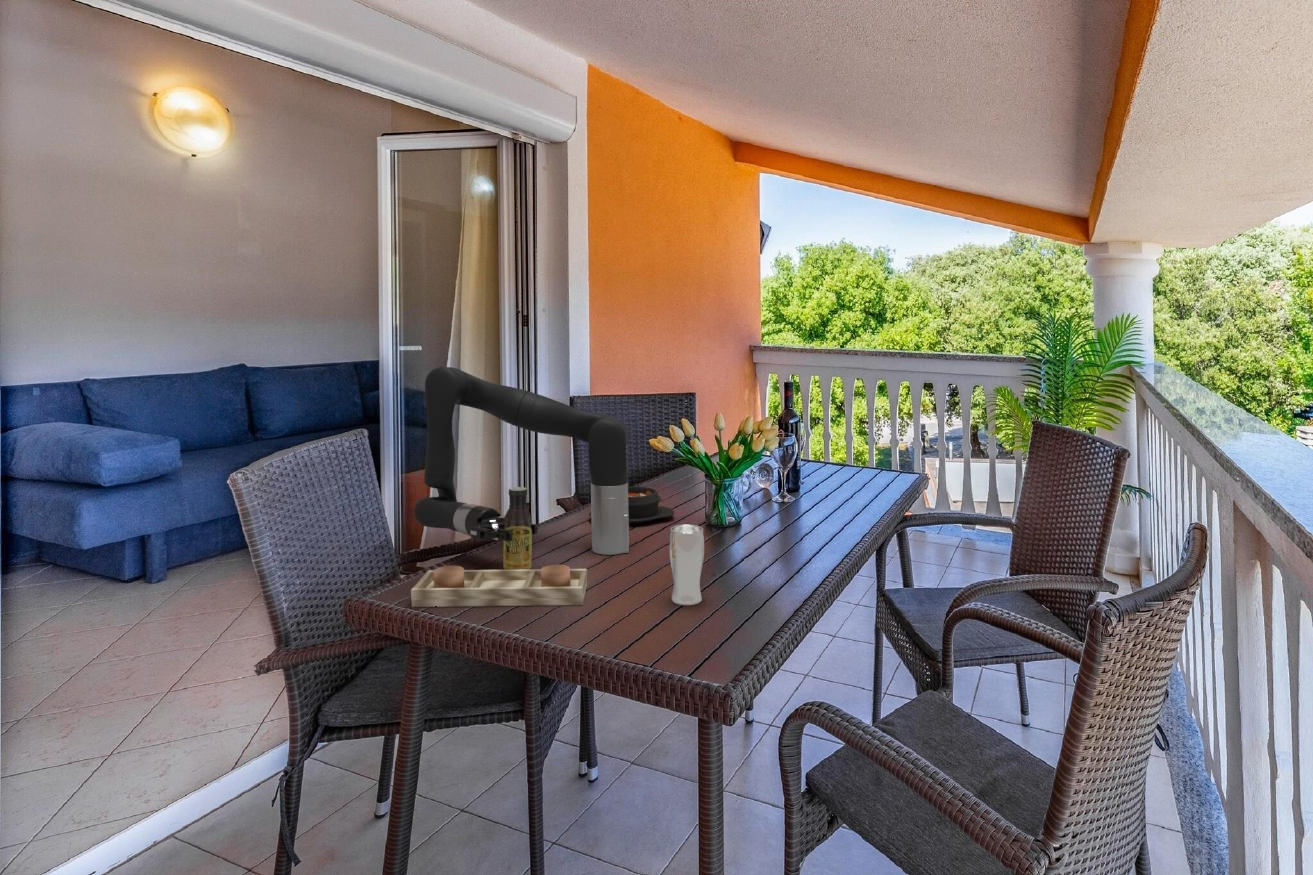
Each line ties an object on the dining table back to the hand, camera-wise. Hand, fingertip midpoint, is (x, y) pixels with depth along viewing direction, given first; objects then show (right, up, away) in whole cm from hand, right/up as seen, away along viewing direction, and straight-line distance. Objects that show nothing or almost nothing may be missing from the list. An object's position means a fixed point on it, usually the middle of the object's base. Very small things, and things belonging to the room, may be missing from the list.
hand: (523, 533), depth 161 cm
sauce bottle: (-2, -10, +3) cm, 10 cm away
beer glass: (+36, -12, -13) cm, 40 cm away
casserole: (+22, -3, +51) cm, 56 cm away
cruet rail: (-2, -12, -10) cm, 16 cm away
